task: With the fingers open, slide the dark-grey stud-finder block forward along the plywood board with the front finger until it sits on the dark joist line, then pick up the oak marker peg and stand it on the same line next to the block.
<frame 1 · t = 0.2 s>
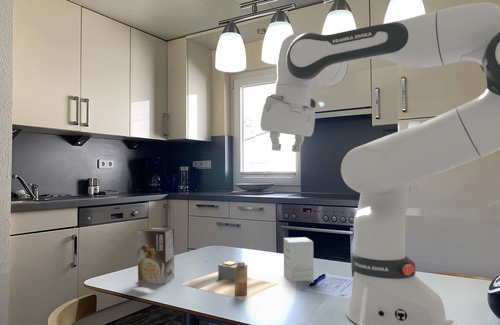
hand: (286, 151, 98), 38 cm above the table, tool pointing down, fingers open, 8 cm apart
brown food box: (156, 284, 110), on the table
plywood board: (228, 288, 105), on the table
handheld gaming device: (219, 268, 128), on the table
supplement box: (298, 282, 112), on the table
marker peg: (240, 294, 97), point 1 cm above the table, touching plywood board
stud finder: (232, 278, 111), point 1 cm above the table, touching plywood board
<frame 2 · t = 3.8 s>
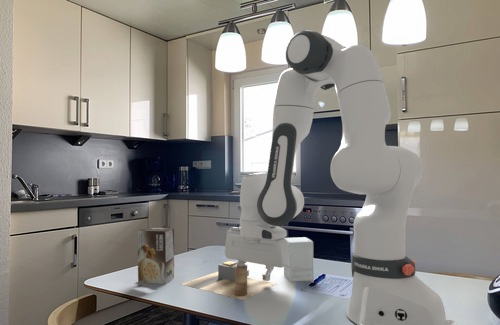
hand: (255, 278, 106), 3 cm above the table, tool pointing down, fingers open, 6 cm apart
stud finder: (232, 278, 111), point 1 cm above the table, touching gripper, plywood board
everything else where it was.
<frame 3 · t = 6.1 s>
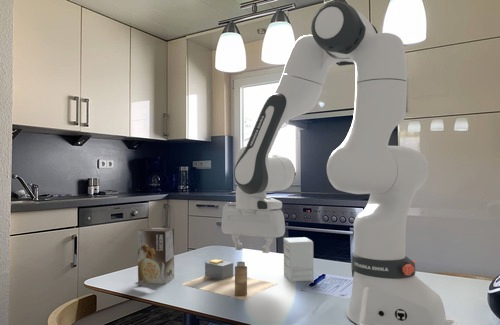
hand: (252, 251, 107), 10 cm above the table, tool pointing down, fingers open, 8 cm apart
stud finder: (219, 275, 113), point 1 cm above the table, touching plywood board
everything else where it was.
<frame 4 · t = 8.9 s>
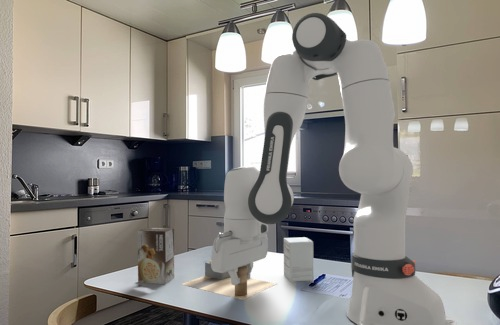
hand: (241, 282, 97), 4 cm above the table, tool pointing down, fingers closed on marker peg, 3 cm apart
marker peg: (240, 294, 97), point 1 cm above the table, touching gripper, plywood board
everything else where it was.
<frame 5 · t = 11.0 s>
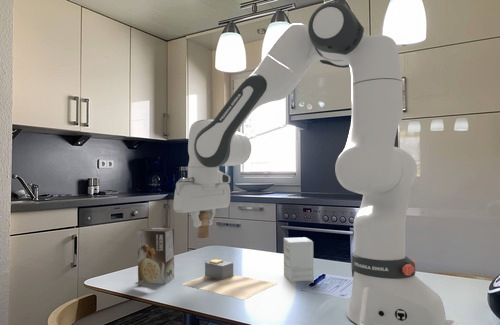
hand: (203, 226, 106), 17 cm above the table, tool pointing down, fingers closed on marker peg, 3 cm apart
marker peg: (202, 236, 106), point 14 cm above the table, touching gripper
everything else where it was.
when the fingers open (5 cm above the table, at t = 13.5 s): marker peg stays where it is, resting on plywood board.
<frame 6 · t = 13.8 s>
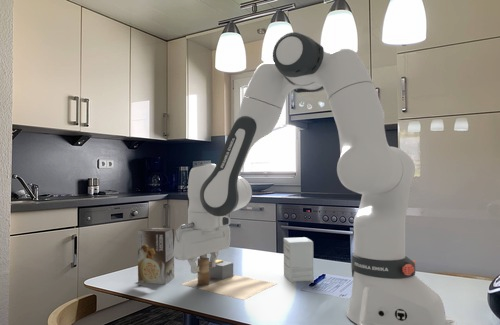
hand: (203, 269, 106), 5 cm above the table, tool pointing down, fingers open, 5 cm apart
marker peg: (203, 283, 106), point 1 cm above the table, touching plywood board
everything else where it was.
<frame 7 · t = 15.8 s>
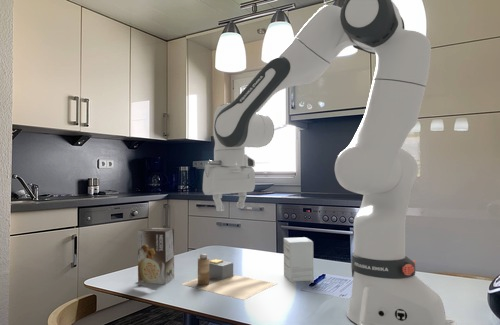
hand: (230, 209, 106), 22 cm above the table, tool pointing down, fingers open, 8 cm apart
nothing on the table moved.
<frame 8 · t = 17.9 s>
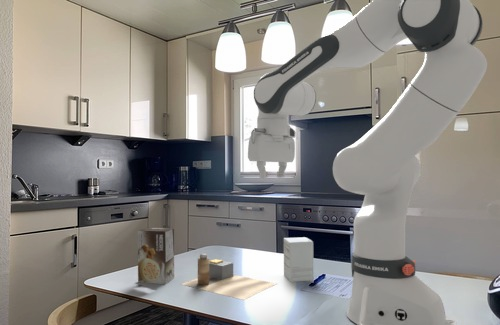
hand: (272, 177, 108), 31 cm above the table, tool pointing down, fingers open, 8 cm apart
nothing on the table moved.
at the end: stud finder inside the target area (1.0 cm from its centre), point 1.2 cm above the table; marker peg 0.2 cm from the target spot, point 1.2 cm above the table; marker peg tilted 0° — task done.
